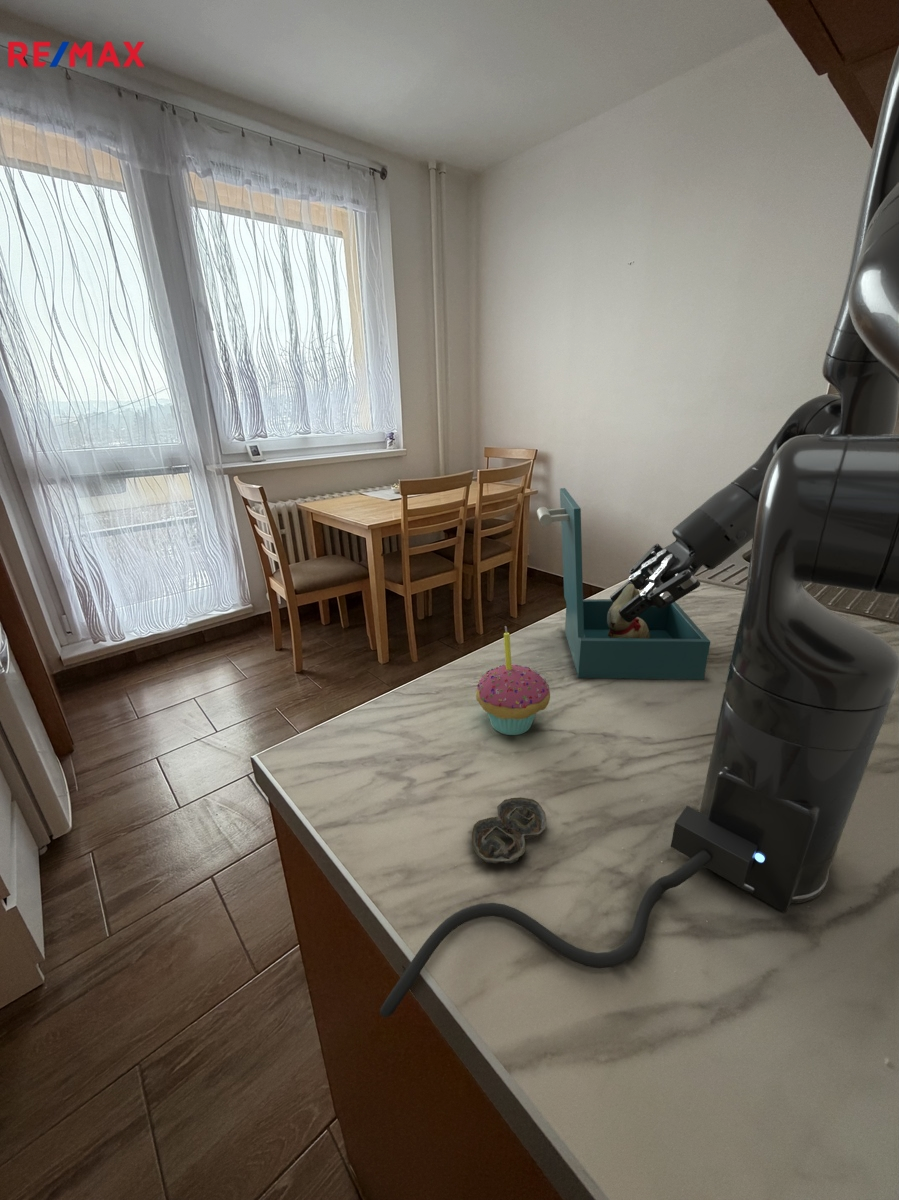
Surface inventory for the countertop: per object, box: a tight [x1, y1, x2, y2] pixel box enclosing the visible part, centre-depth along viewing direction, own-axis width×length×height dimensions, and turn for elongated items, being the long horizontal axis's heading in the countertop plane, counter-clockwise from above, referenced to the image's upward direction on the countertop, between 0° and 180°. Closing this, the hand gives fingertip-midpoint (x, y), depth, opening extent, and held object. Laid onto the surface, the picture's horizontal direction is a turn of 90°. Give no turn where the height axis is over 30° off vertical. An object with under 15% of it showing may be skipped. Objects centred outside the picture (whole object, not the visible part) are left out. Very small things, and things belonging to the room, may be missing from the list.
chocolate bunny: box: [607, 584, 650, 639], centre depth 71 cm, size 6×8×10 cm
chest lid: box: [536, 487, 584, 638], centre depth 68 cm, size 17×15×5 cm
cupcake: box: [475, 625, 551, 736], centre depth 56 cm, size 9×8×12 cm
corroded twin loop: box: [471, 796, 547, 864], centre depth 43 cm, size 5×8×1 cm, turn 135°
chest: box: [564, 598, 711, 681], centre depth 71 cm, size 17×15×6 cm
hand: (618, 609), depth 70 cm, fingers closed on chocolate bunny, 5 cm apart
